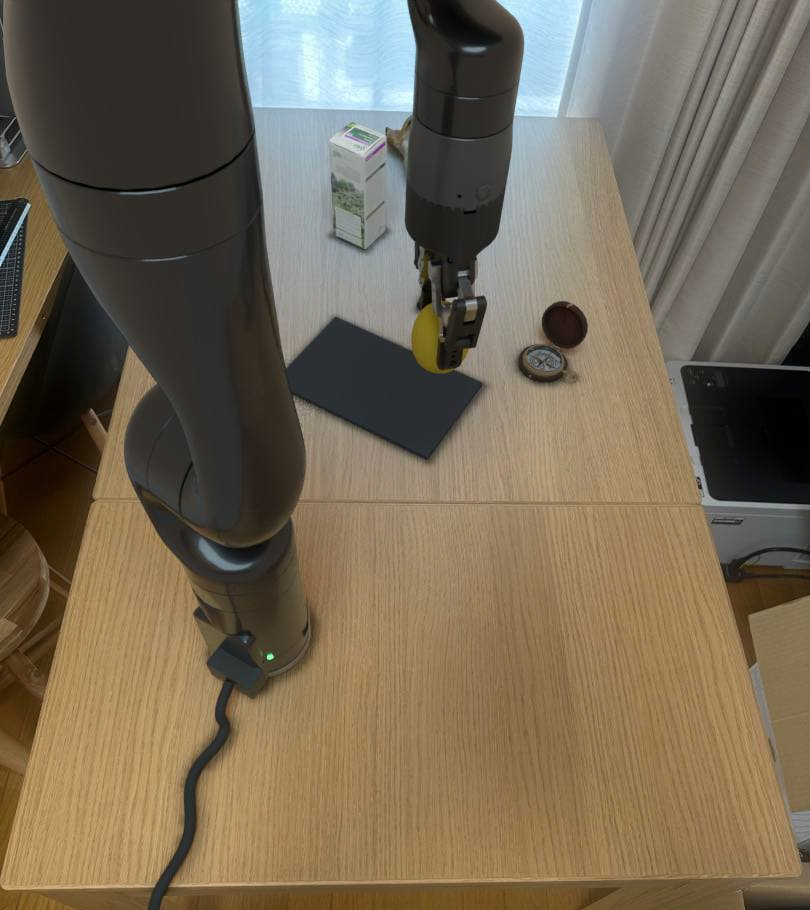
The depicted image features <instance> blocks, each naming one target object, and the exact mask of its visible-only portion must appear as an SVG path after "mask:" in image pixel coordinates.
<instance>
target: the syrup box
mask: <svg viewBox="0 0 810 910" xmlns="http://www.w3.org/2000/svg"><path fill="white" fill-rule="evenodd" d="M387 147H388V144H387V137H386V135H385V134H383V133H381V132H378V131H375V130H373V129H371V128H368V127H366V126H363V125H360V124H358V123H356V122H353V121H352V122H349V123H348V124H346V125H345V126H343V127H342V128H340V130H338V131H337V132H336V133H335V134H334V135H333V136H332V137H331V138H330V139H328V155H329V172H330V173H329V174H330V188H331V189H330V190H331V191H330V192H331V209H332V225H333V226H332V227H333V236H334V237H336V238H337V239H339V240H342V241H345V242H346V243H349V244H350V245H353V246H355V247H358V248H360V249H362V250H367V249H368V248H370V246H371V245H372V244H374V243H375V241H377V240H378V239H379V238H380V237H381V236H382V235H383V234H384V233H385V232H386V229H387V227H386V222H387V221H386V220H387V219H386V206H387V205H386V203H387V201H386V200H387V199H386V198H387V197H386V193H387V151H388V149H387Z"/></svg>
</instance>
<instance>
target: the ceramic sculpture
mask: <svg viewBox="0 0 810 910" xmlns="http://www.w3.org/2000/svg"><path fill="white" fill-rule="evenodd" d="M411 120H412V114H411V115H409V117H407V118H406V119H405V120H404V122H403V125H402V127H401V129H392V128H390V127H388V126H385V134H384V135H386V137H387V147H389V149H391V150H392V151H394V152H395V153H396V154H399V155H400V156H402V157H403V168H404V171H405V173H406V174H407V151H408V137H409V131H410V125H411Z"/></svg>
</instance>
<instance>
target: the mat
mask: <svg viewBox="0 0 810 910" xmlns="http://www.w3.org/2000/svg"><path fill="white" fill-rule="evenodd" d="M286 371H287V375H288V379H289V383H290V387H291V391H292V395H293V396H295V397H297V398H299V399H300V400H304V401H305V402H307V403H310V404H312V405H313V406H315V407H318V408H320V409H322V410H324V411H325V412H328V413H330V414H332V415H334V416H336V417H337V418H340V419H342V420H344V421H346V422H349V424H350V423H351V424H353V425H355V426H357V427H359V428H360V429H363V430H365V431H367V432H369V433H371V434H373V435H375V436H378V437H379V438H381V439H383V440H385V441H388V442H389V443H391V444H393V445H395V446H397V447H400V448H402V449H404V450H406V451H408V452H410V453H412V454H414V455H417V456H418V457H420V458H422V459H424V460H426V461H428V460H429V458H430V457H431V456H432V455H433V453H434V451H435V450H436V449H437V448H438V447H439V445H440V444H441V442H442V441H443V440H444V439H445V437H446V436H447V434H448V433H449V432H450V430H451V429H452V427H453V426H454V424H456V422H457V420H458V419H459V418H460V416H461V415H462V413H463V412H464V411H465V409H466V408H467V407H468V405H469V404H470V403H471V401H472V400H473V399H474V397H475V396H476V395H477V393H478V392H479V391H480V389H481V388H482V387H483V382H482V381H480V380H478V379H475V378H473V377H471V376H468V375H467V374H464V373H462V372H459V371H458V370H456V369H454V370H452V371H450V372H447V373H433V372H430V371H428V370H426V369H424V368H423V367H422V366H421V365H420V364H419V363H418V362H417V360H416V358H415V356H414V354H413V351H412V350H411V349H409V348H406V347H404V346H402V345H400V344H398V343H395V342H393V341H391V340H389V339H388V338H387V339H386V338H385V337H382V336H379V335H377V334H376V333H373V332H371V331H369V330H366V329H364V328H362V327H360V326H358V325H355V324H353V323H351V322H349V321H346V320H345V319H342V318H340V317H338V316H334V318H333V319H331V321H330V322H329V323H328V324H327V325H326V326H325V327H324V328H323V329H322V330H321V331H320V332H319V333H318V335H316V337H315V338H314V339H313V340H312V341H311V342H310V343H309V344H307V345H306V347H305V348H304V349H303V350H302V351H301V352H300V353H299V354H298V355H297V357H296V358H294V360H293V361H292V362H290V364H289V365H288V366H286Z"/></svg>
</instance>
